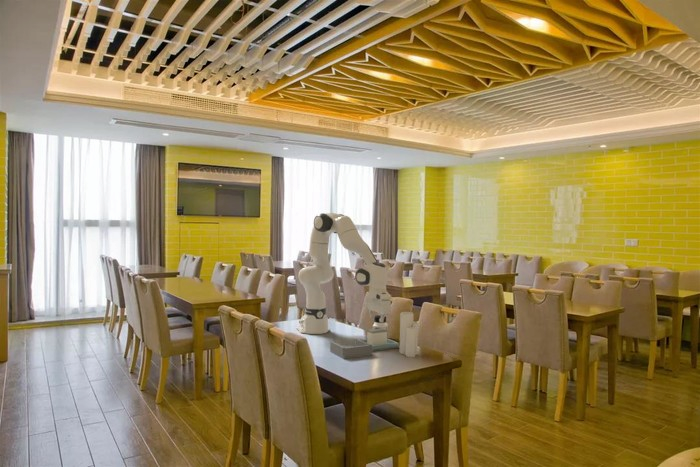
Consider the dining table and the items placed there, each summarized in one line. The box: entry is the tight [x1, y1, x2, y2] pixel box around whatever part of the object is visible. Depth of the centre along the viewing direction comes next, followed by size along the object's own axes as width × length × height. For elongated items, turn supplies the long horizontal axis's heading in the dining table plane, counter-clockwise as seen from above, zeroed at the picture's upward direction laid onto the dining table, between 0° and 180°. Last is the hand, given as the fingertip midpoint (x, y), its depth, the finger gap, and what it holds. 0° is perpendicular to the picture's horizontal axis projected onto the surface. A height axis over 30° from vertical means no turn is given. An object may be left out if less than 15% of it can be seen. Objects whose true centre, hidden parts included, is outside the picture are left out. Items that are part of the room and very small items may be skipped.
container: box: [371, 314, 389, 338], centre depth 276 cm, size 8×8×13 cm
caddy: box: [366, 328, 388, 346], centre depth 257 cm, size 5×9×8 cm, turn 118°
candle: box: [398, 311, 419, 358], centre depth 244 cm, size 11×7×20 cm, turn 27°
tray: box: [360, 338, 400, 352], centre depth 257 cm, size 14×18×2 cm
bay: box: [329, 338, 373, 360], centre depth 243 cm, size 15×15×5 cm
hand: (376, 320), depth 257 cm, fingers open, 8 cm apart
